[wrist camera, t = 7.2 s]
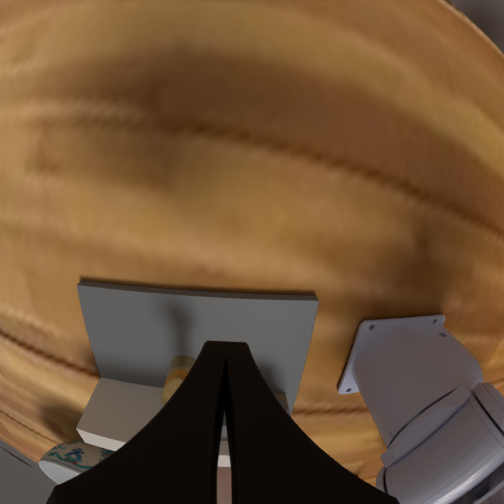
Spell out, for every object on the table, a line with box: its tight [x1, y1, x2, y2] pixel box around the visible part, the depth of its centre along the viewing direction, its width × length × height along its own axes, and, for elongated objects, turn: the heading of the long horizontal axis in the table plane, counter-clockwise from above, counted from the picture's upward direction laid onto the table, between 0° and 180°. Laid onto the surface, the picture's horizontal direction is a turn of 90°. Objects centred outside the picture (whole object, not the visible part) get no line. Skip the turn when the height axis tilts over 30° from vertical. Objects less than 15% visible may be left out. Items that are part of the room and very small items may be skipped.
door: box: [76, 281, 319, 467], centre depth 17 cm, size 17×13×7 cm
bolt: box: [161, 355, 290, 416], centre depth 15 cm, size 8×6×3 cm
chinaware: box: [39, 440, 115, 484], centre depth 21 cm, size 15×15×8 cm
